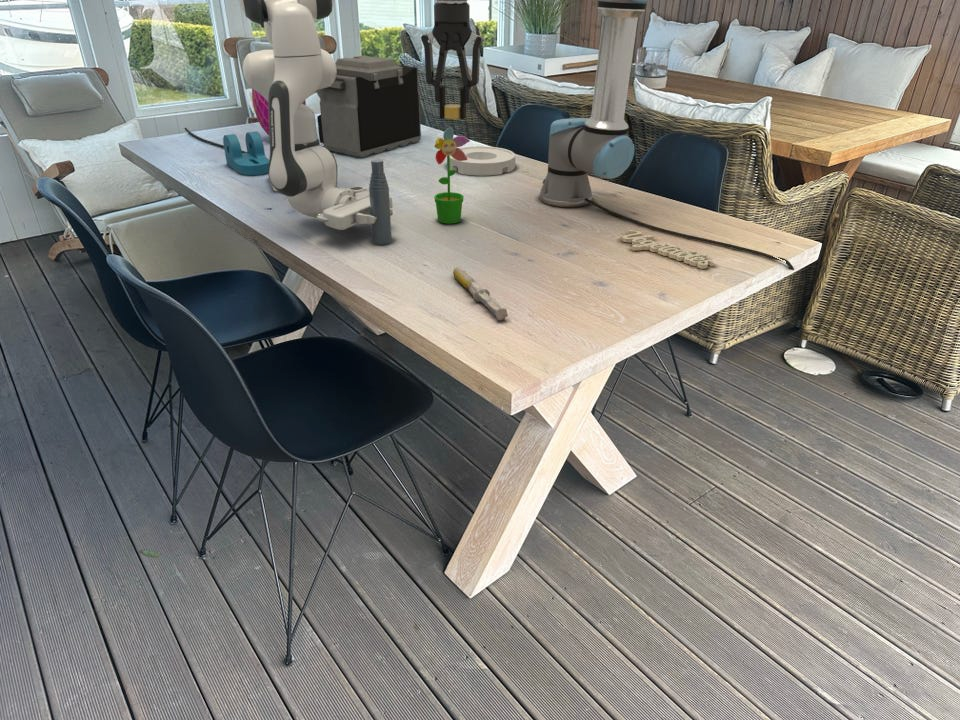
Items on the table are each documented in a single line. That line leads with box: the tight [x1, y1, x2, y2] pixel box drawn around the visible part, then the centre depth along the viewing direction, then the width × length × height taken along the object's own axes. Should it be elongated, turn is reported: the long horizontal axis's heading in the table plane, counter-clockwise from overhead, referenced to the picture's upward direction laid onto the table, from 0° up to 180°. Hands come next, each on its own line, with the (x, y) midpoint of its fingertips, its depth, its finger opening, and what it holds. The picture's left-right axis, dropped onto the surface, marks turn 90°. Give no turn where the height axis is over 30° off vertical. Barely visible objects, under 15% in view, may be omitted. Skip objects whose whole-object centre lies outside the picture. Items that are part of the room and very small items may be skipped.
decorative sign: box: [621, 229, 715, 270], centre depth 168 cm, size 26×1×10 cm
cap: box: [443, 103, 461, 120], centre depth 155 cm, size 4×4×2 cm
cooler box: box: [315, 55, 422, 159], centre depth 250 cm, size 37×22×30 cm, turn 144°
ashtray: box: [450, 145, 516, 177], centre depth 233 cm, size 23×23×4 cm
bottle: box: [368, 158, 393, 246], centre depth 167 cm, size 5×5×20 cm
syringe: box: [452, 266, 509, 321], centre depth 145 cm, size 25×4×3 cm, turn 21°
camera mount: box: [222, 131, 269, 176], centre depth 226 cm, size 18×10×10 cm, turn 35°
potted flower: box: [433, 126, 471, 225], centre depth 180 cm, size 9×8×25 cm
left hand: (383, 216), depth 169 cm, fingers closed on bottle, 5 cm apart
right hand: (453, 117), depth 156 cm, fingers closed on cap, 4 cm apart
